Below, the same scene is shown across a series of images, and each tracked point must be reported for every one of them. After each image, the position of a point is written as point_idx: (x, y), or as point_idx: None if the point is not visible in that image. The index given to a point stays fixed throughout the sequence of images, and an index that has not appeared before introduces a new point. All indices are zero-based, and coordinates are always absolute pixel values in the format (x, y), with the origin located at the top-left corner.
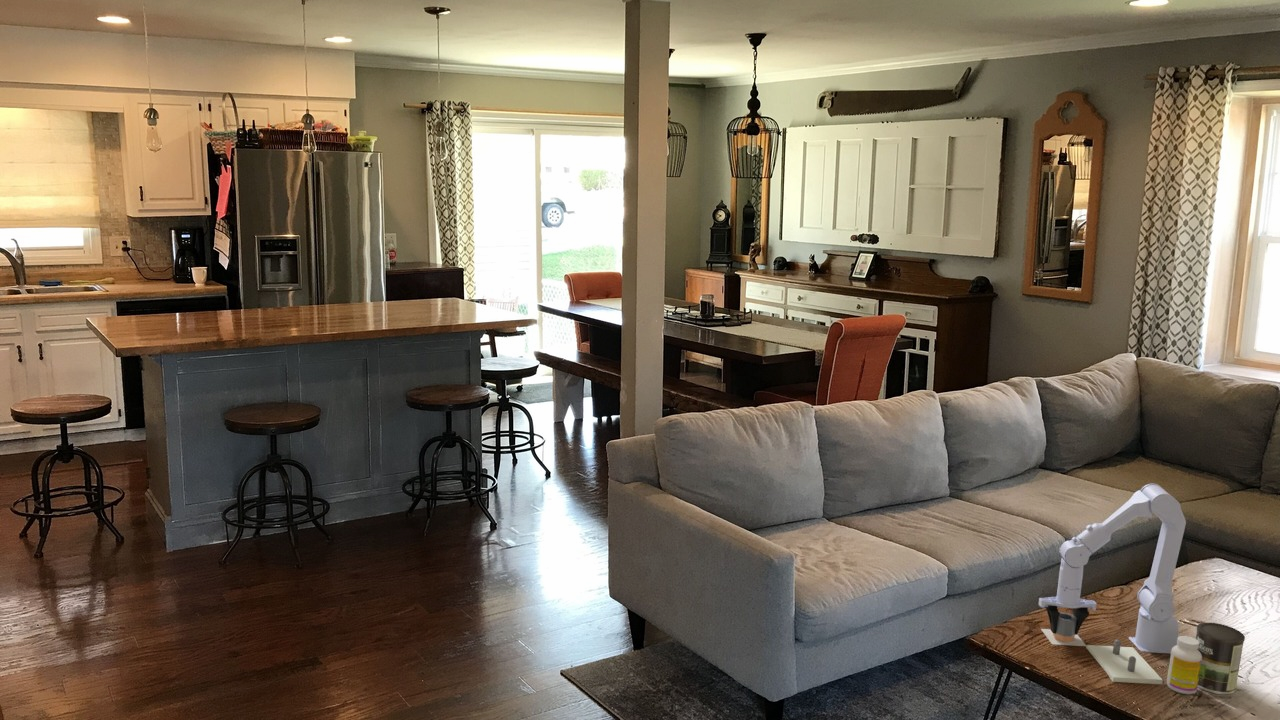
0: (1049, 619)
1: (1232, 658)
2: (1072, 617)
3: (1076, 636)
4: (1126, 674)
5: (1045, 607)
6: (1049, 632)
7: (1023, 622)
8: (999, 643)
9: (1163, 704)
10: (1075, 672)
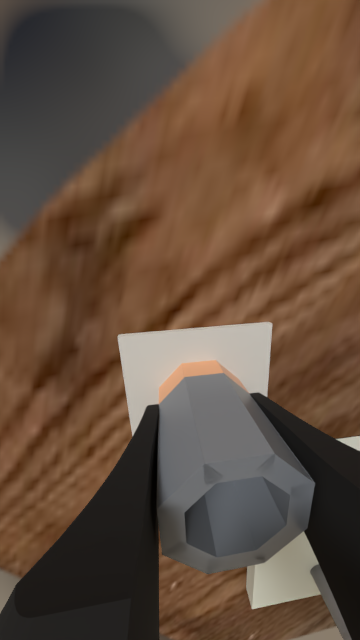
0: (125, 452)
1: None
2: (286, 513)
3: (258, 377)
4: (294, 589)
5: (31, 577)
6: (151, 366)
7: (42, 255)
8: None
9: (309, 624)
10: (165, 578)
